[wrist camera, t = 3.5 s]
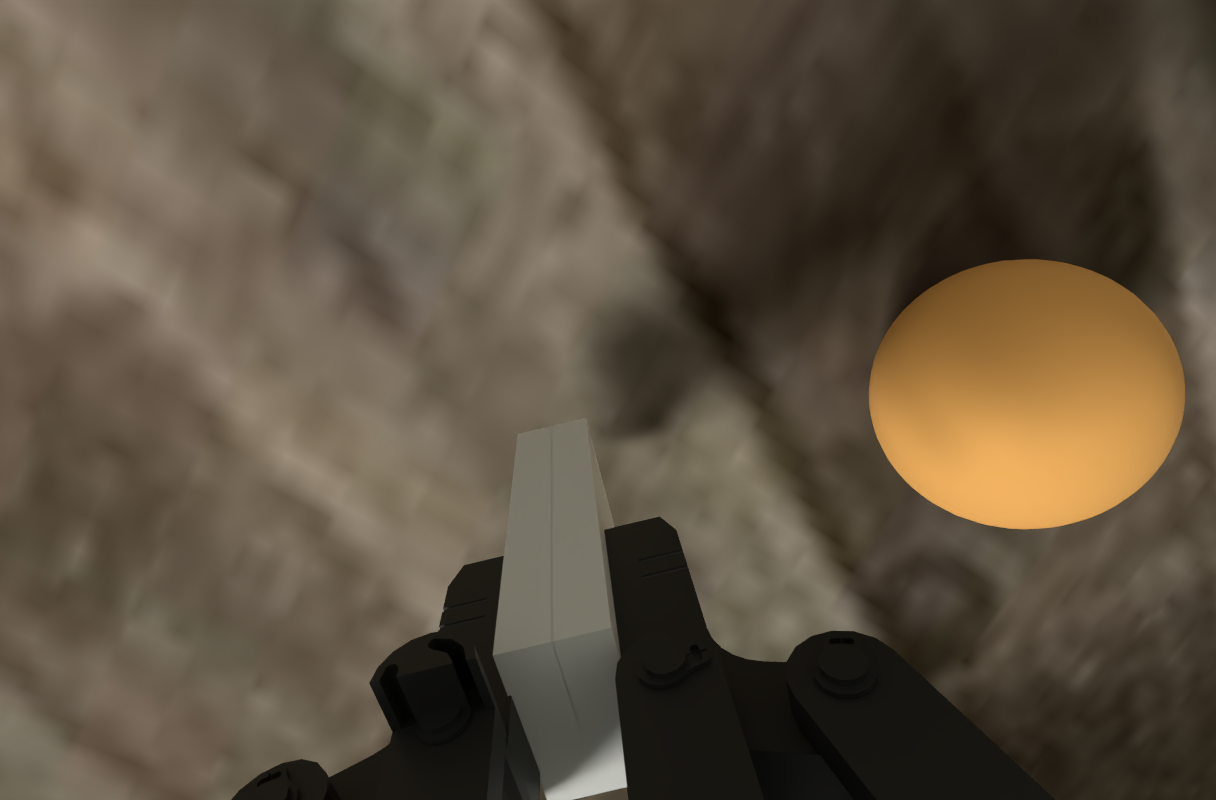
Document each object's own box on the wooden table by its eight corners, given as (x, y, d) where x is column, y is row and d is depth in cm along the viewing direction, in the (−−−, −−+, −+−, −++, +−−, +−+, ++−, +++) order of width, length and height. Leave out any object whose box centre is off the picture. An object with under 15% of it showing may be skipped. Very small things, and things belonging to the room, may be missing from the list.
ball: (1046, 427, 18) (1250, 547, 12) (841, 476, 18) (959, 616, 12) (1052, 215, 15) (1298, 254, 10) (818, 272, 16) (949, 338, 10)
